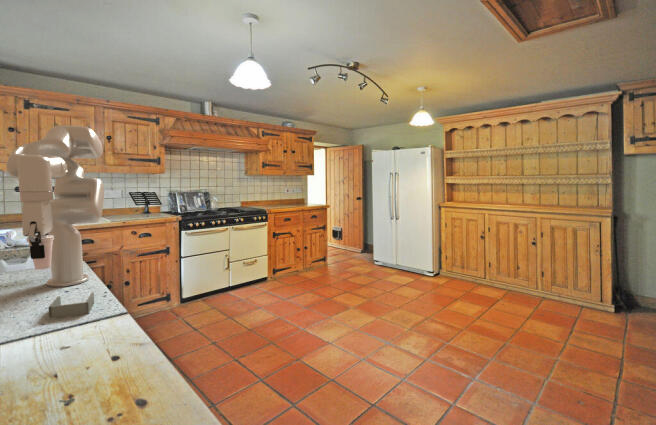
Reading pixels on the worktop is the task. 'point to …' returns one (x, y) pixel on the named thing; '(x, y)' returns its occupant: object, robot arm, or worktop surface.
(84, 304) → the bay
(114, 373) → the worktop surface
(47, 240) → the smoothie
